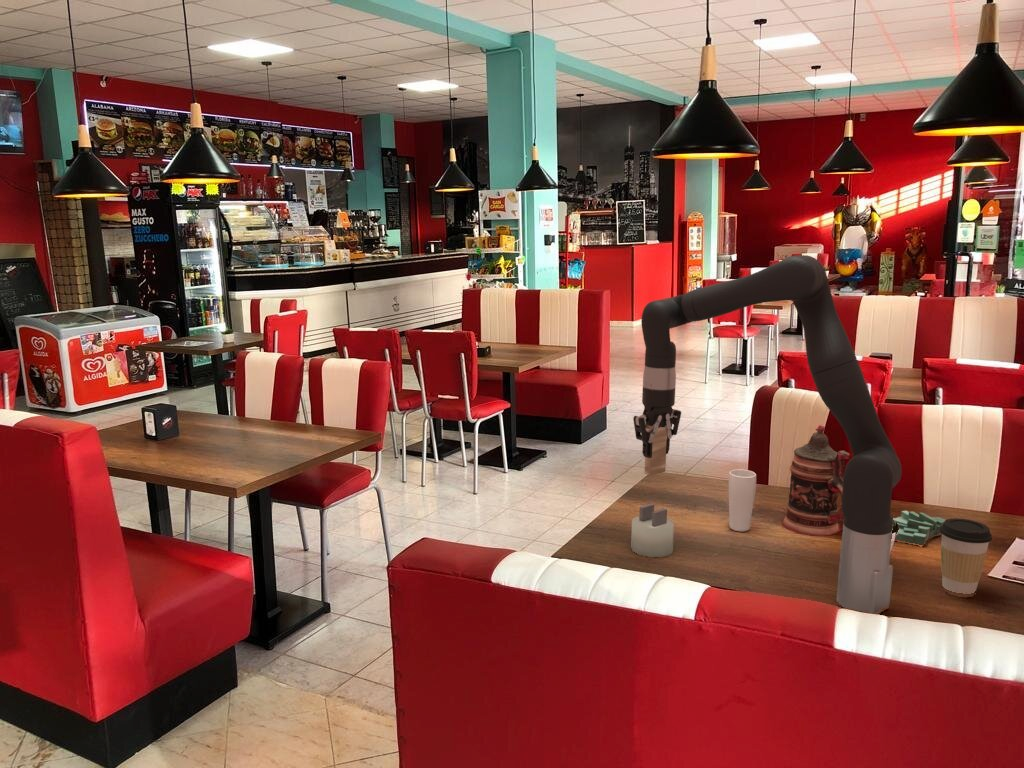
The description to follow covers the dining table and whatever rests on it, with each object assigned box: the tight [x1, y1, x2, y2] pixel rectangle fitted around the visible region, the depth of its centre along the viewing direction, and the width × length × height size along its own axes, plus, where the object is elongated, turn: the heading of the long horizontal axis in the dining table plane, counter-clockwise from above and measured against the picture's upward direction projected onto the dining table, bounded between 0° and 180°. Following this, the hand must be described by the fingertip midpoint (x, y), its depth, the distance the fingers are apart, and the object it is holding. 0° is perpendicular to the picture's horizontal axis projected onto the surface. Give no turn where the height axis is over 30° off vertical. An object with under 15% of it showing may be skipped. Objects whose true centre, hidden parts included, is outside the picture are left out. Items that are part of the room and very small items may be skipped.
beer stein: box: [781, 424, 851, 537], centre depth 208 cm, size 17×28×18 cm
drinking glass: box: [727, 468, 757, 533], centre depth 208 cm, size 7×7×15 cm
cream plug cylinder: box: [630, 502, 675, 558], centre depth 195 cm, size 10×10×10 cm
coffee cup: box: [939, 517, 993, 594], centre depth 173 cm, size 10×10×15 cm
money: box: [893, 510, 946, 546], centre depth 208 cm, size 20×16×5 cm
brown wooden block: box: [644, 425, 667, 476], centre depth 192 cm, size 2×5×12 cm, turn 126°
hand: (655, 454), depth 192 cm, fingers closed on brown wooden block, 5 cm apart
